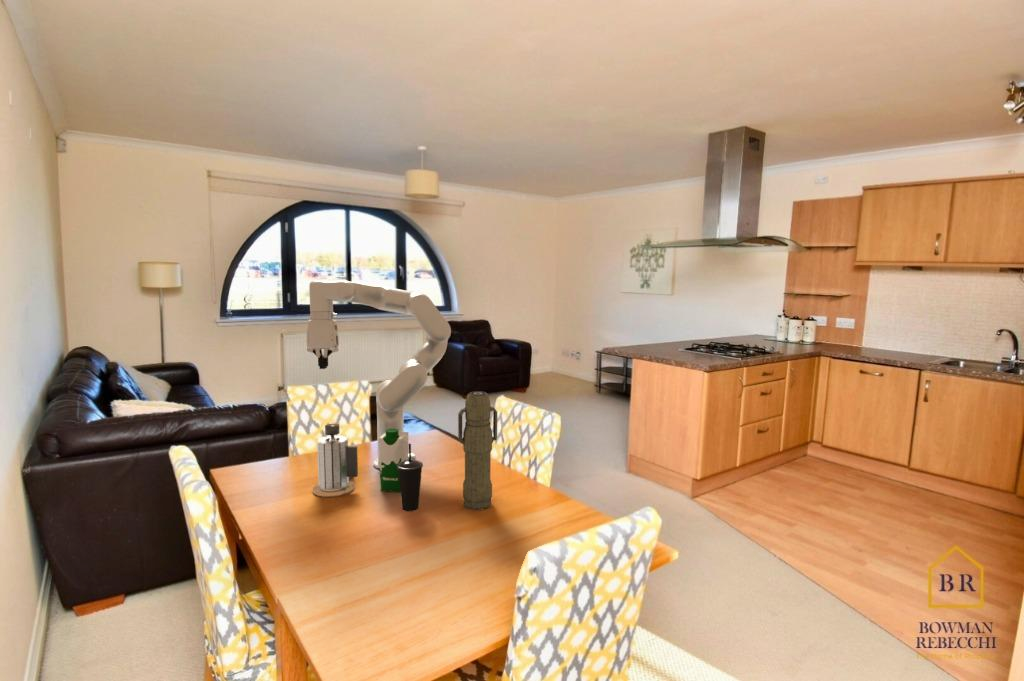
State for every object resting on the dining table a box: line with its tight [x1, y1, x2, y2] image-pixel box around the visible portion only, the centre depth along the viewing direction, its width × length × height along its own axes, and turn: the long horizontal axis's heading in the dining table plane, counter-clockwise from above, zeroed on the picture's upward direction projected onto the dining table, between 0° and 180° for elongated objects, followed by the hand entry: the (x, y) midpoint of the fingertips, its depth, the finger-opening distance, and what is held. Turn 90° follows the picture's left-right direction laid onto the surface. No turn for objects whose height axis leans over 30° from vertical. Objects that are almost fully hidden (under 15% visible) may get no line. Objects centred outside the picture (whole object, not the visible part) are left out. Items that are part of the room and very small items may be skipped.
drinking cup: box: [397, 443, 424, 512], centre depth 159 cm, size 8×8×20 cm
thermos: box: [457, 390, 498, 511], centre depth 162 cm, size 9×12×35 cm
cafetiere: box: [312, 434, 359, 498], centre depth 173 cm, size 14×13×17 cm
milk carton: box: [379, 429, 410, 493], centre depth 175 cm, size 9×9×20 cm
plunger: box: [324, 423, 341, 442], centre depth 173 cm, size 4×4×19 cm
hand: (323, 368), depth 187 cm, fingers closed
